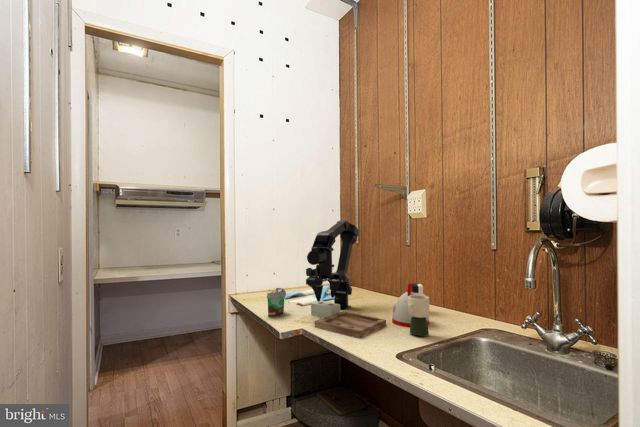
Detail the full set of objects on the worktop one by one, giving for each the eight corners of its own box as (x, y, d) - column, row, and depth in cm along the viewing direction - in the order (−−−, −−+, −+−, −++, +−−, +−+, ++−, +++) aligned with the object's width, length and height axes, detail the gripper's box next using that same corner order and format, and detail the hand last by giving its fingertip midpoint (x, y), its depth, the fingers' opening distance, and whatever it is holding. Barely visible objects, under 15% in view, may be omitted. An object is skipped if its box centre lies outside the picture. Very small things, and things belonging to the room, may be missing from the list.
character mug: (420, 329, 123) (419, 293, 124) (437, 334, 118) (436, 296, 118) (400, 335, 117) (400, 297, 117) (417, 341, 111) (417, 300, 112)
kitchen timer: (389, 325, 128) (388, 285, 129) (395, 316, 141) (394, 279, 142) (427, 329, 123) (427, 287, 124) (430, 319, 136) (429, 281, 137)
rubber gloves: (269, 298, 179) (269, 286, 179) (315, 289, 201) (315, 278, 201) (302, 307, 159) (302, 293, 159) (349, 296, 181) (349, 284, 181)
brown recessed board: (343, 316, 141) (343, 311, 141) (386, 325, 128) (386, 319, 128) (314, 326, 127) (314, 320, 127) (359, 338, 114) (359, 331, 114)
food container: (281, 318, 139) (281, 293, 140) (266, 317, 140) (266, 293, 141) (289, 310, 151) (289, 288, 152) (276, 310, 153) (276, 287, 153)
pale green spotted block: (320, 312, 149) (320, 300, 149) (340, 316, 142) (340, 304, 142) (311, 315, 144) (311, 302, 145) (331, 319, 137) (331, 306, 138)
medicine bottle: (406, 313, 146) (406, 284, 146) (408, 309, 152) (408, 282, 153) (424, 314, 143) (423, 285, 143) (425, 310, 150) (425, 283, 150)
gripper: (324, 259, 156) (325, 293, 156) (296, 263, 142) (296, 300, 142) (344, 260, 149) (344, 296, 149) (316, 265, 135) (316, 304, 134)
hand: (325, 299), depth 144 cm, fingers open, 9 cm apart
